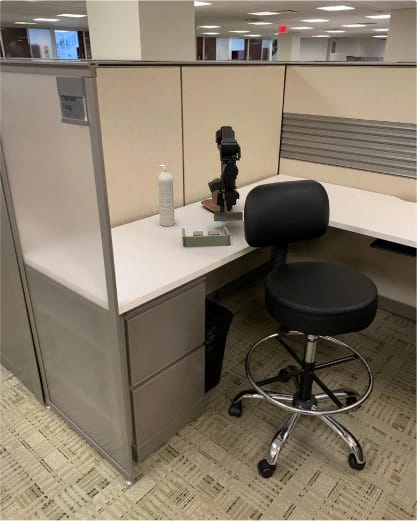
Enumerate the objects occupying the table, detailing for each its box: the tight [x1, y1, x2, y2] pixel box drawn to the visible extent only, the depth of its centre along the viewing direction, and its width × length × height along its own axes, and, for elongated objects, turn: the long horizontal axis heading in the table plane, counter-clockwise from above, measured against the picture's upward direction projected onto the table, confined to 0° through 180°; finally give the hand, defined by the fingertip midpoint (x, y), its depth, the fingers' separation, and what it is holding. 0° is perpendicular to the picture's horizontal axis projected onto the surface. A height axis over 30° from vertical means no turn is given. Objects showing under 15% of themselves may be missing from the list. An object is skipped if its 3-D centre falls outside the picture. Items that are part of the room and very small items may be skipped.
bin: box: [181, 226, 231, 248], centre depth 162 cm, size 10×18×4 cm, turn 96°
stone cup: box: [200, 177, 220, 213], centre depth 198 cm, size 15×12×15 cm
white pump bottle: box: [157, 164, 176, 227], centre depth 177 cm, size 9×6×25 cm
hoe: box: [213, 200, 244, 222], centre depth 173 cm, size 3×12×9 cm, turn 96°
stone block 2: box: [207, 229, 221, 235], centre depth 162 cm, size 4×4×4 cm
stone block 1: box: [192, 230, 204, 236], centre depth 161 cm, size 4×4×4 cm
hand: (228, 209), depth 173 cm, fingers closed on hoe, 3 cm apart
